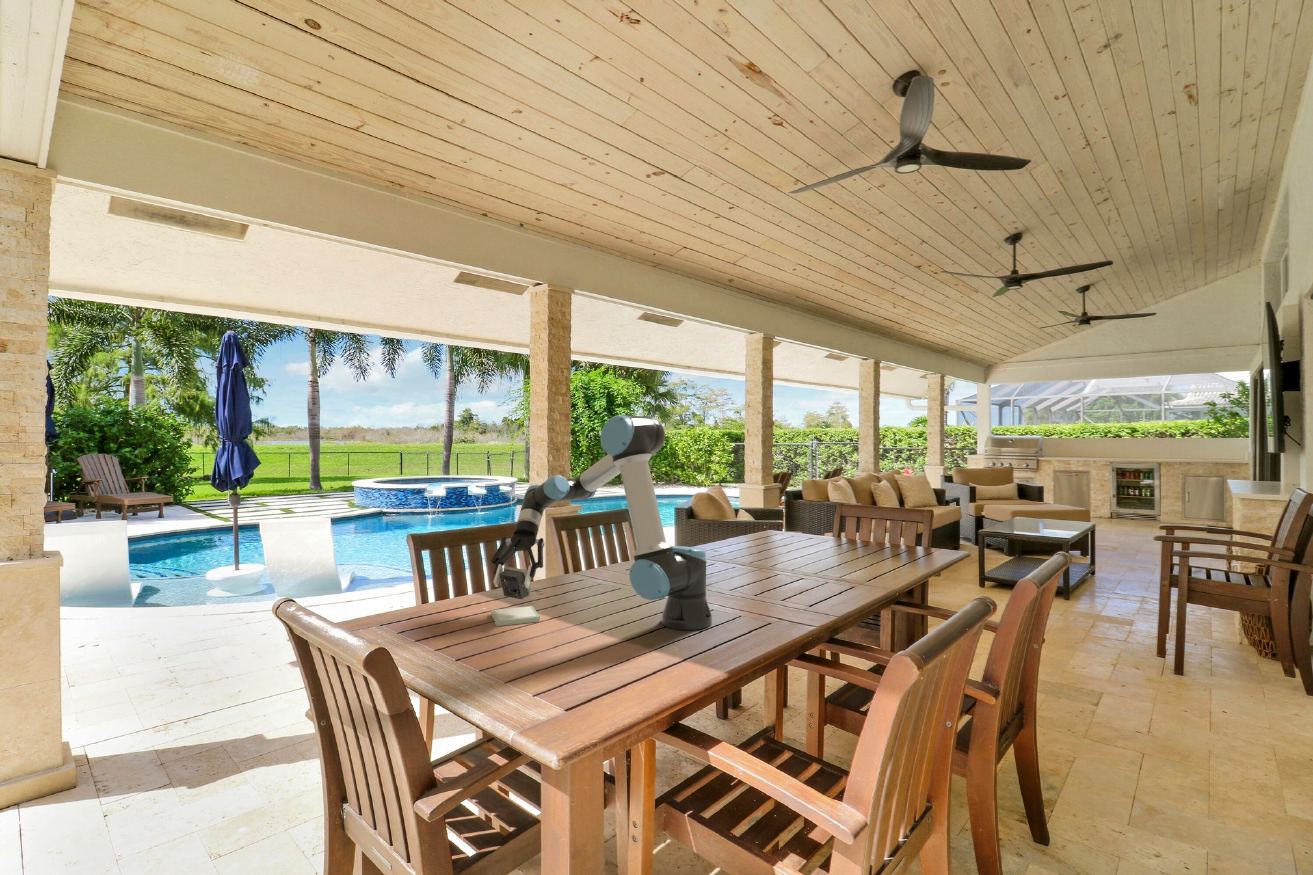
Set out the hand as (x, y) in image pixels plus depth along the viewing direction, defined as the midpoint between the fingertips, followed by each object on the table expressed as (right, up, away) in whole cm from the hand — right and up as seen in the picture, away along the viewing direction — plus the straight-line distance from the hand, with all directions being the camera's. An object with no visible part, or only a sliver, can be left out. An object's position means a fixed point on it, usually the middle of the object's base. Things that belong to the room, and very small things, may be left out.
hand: (510, 585), depth 191 cm
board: (+1, -11, +3) cm, 11 cm away
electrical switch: (+1, -5, +3) cm, 6 cm away
